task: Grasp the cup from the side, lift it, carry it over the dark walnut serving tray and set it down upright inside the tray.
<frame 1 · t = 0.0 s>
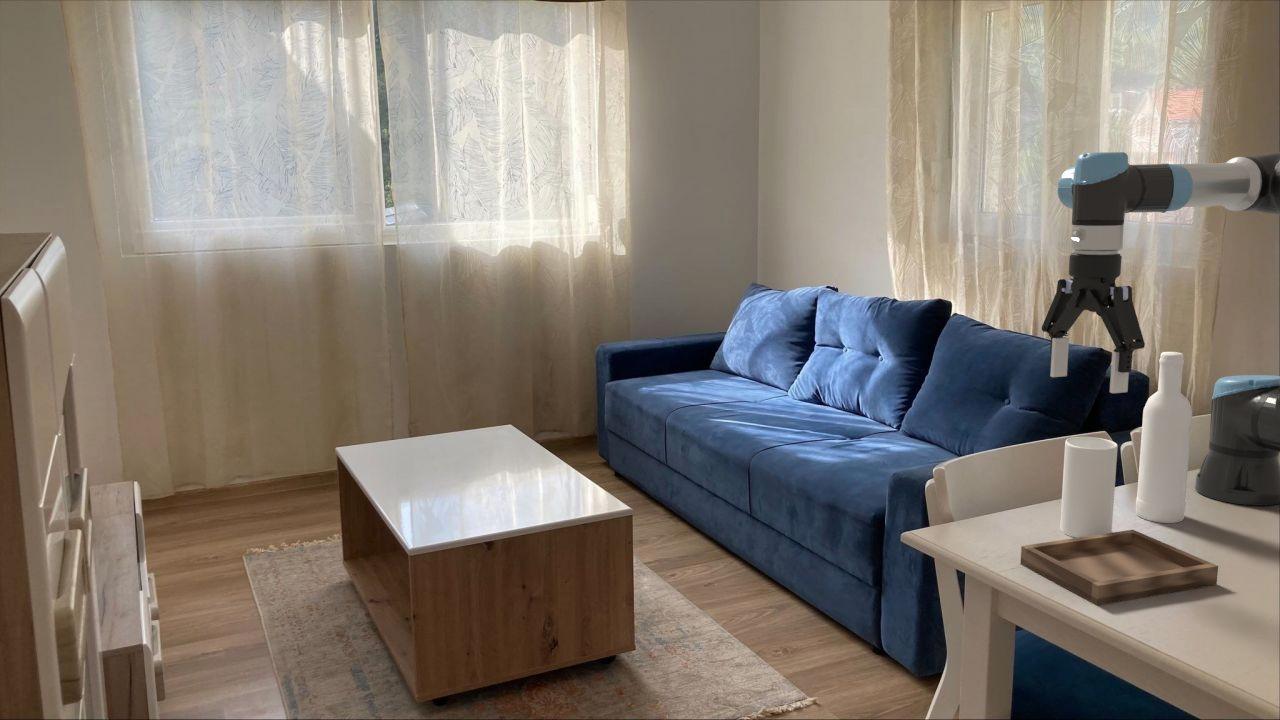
hand: (1087, 384, 164), 28 cm above the table, fingers open, 13 cm apart
cup: (1085, 532, 177), on the table
bottle: (1159, 517, 184), on the table
tray: (1115, 573, 159), on the table
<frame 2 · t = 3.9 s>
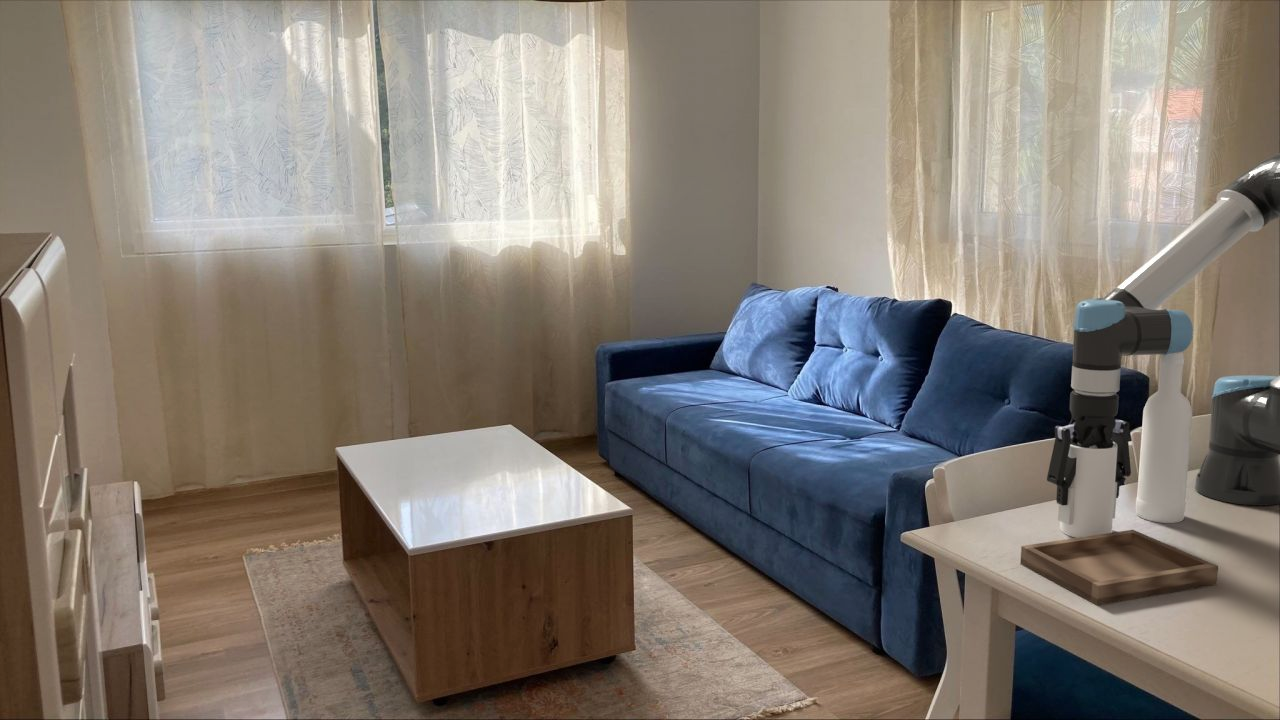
hand: (1086, 519, 177), 2 cm above the table, fingers closed on cup, 8 cm apart
cup: (1085, 532, 177), on the table, touching gripper
everything else where it was.
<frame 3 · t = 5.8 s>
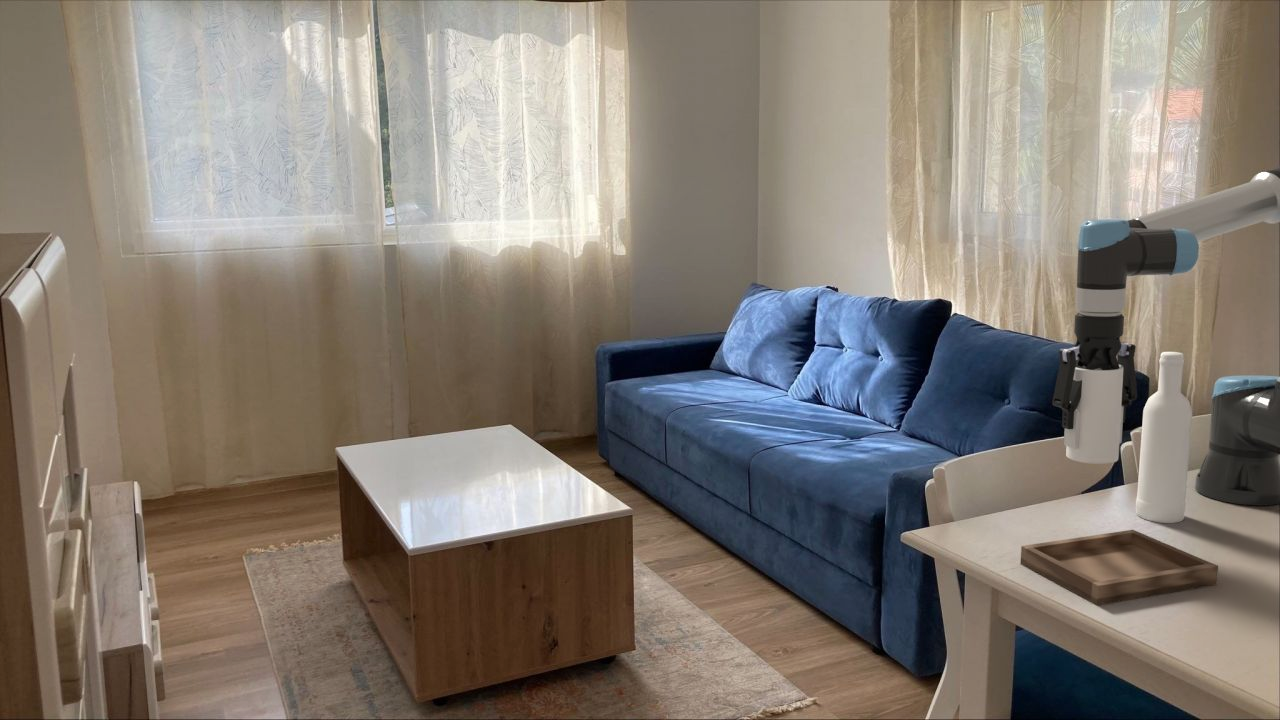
hand: (1092, 444, 174), 16 cm above the table, fingers closed on cup, 8 cm apart
cup: (1091, 458, 175), point 13 cm above the table, touching gripper
everything else where it was.
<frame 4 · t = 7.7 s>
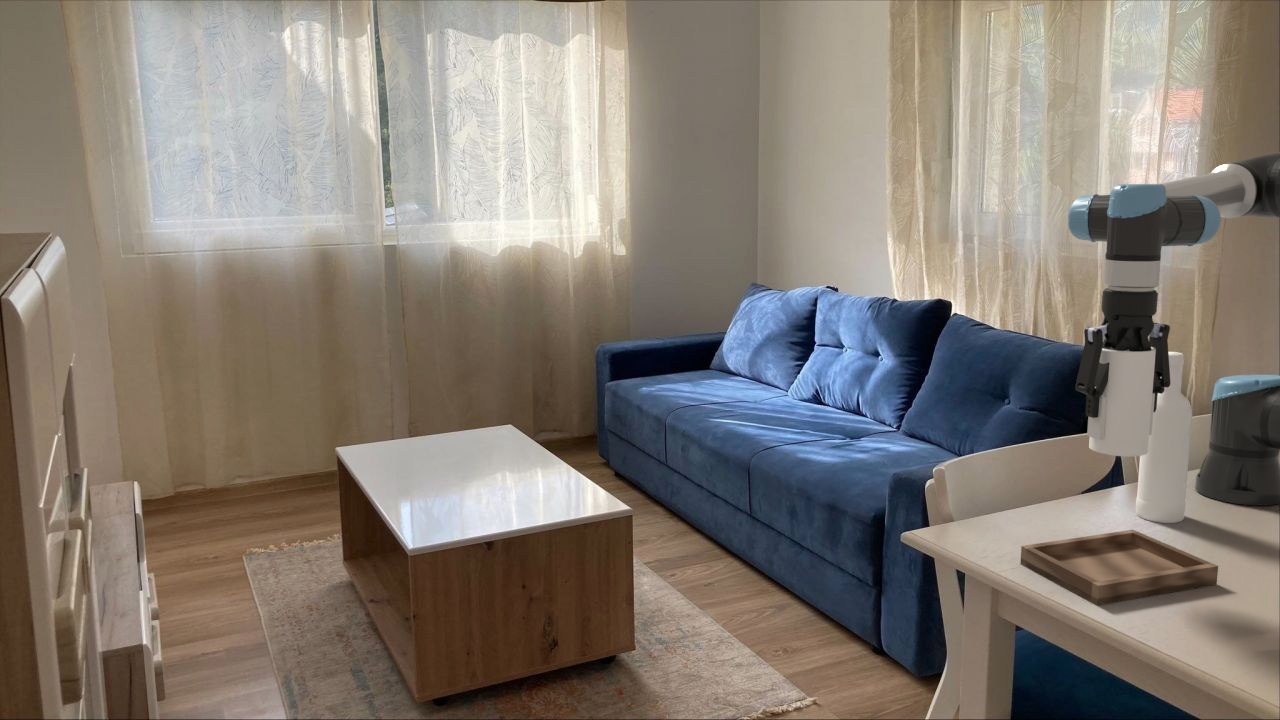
hand: (1119, 435, 157), 22 cm above the table, fingers closed on cup, 8 cm apart
cup: (1117, 450, 157), point 19 cm above the table, touching gripper
everything else where it was.
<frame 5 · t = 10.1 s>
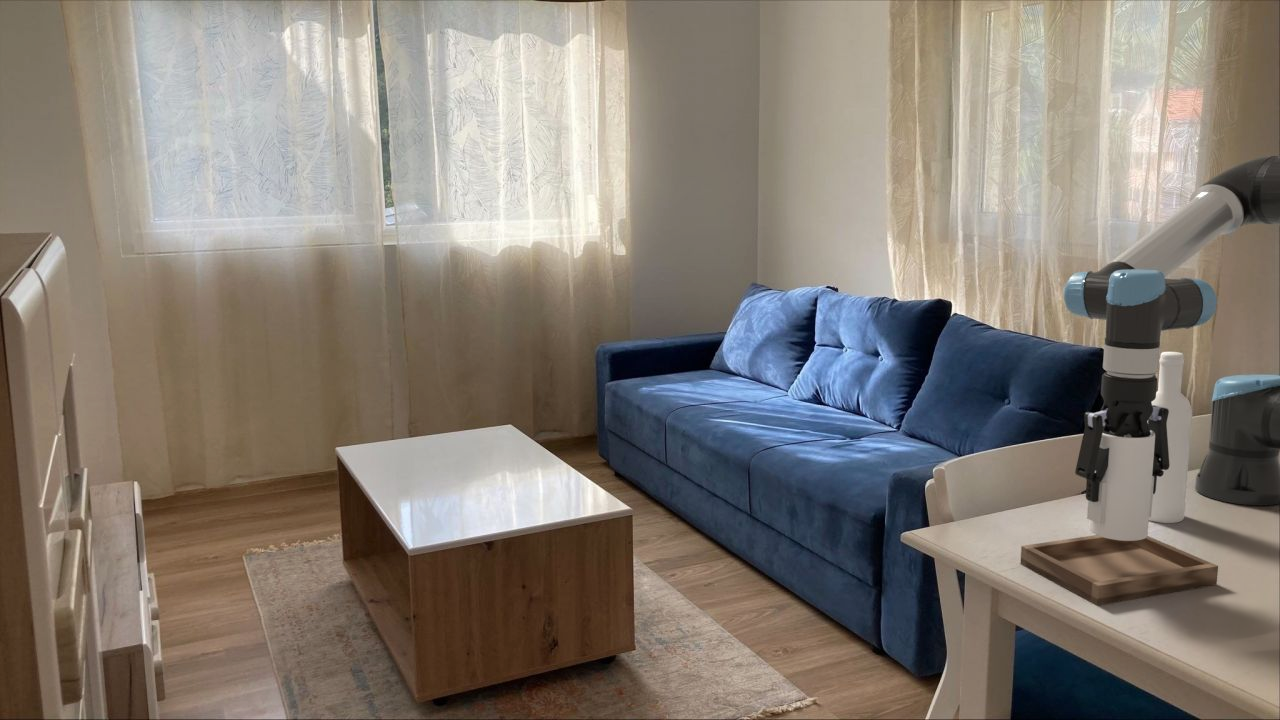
hand: (1119, 517, 157), 9 cm above the table, fingers closed on cup, 8 cm apart
cup: (1117, 532, 157), point 7 cm above the table, touching gripper
everything else where it was.
when the fingers open (5 cm above the table, at t = 11.9 s): cup drops 1 cm, resting on tray.
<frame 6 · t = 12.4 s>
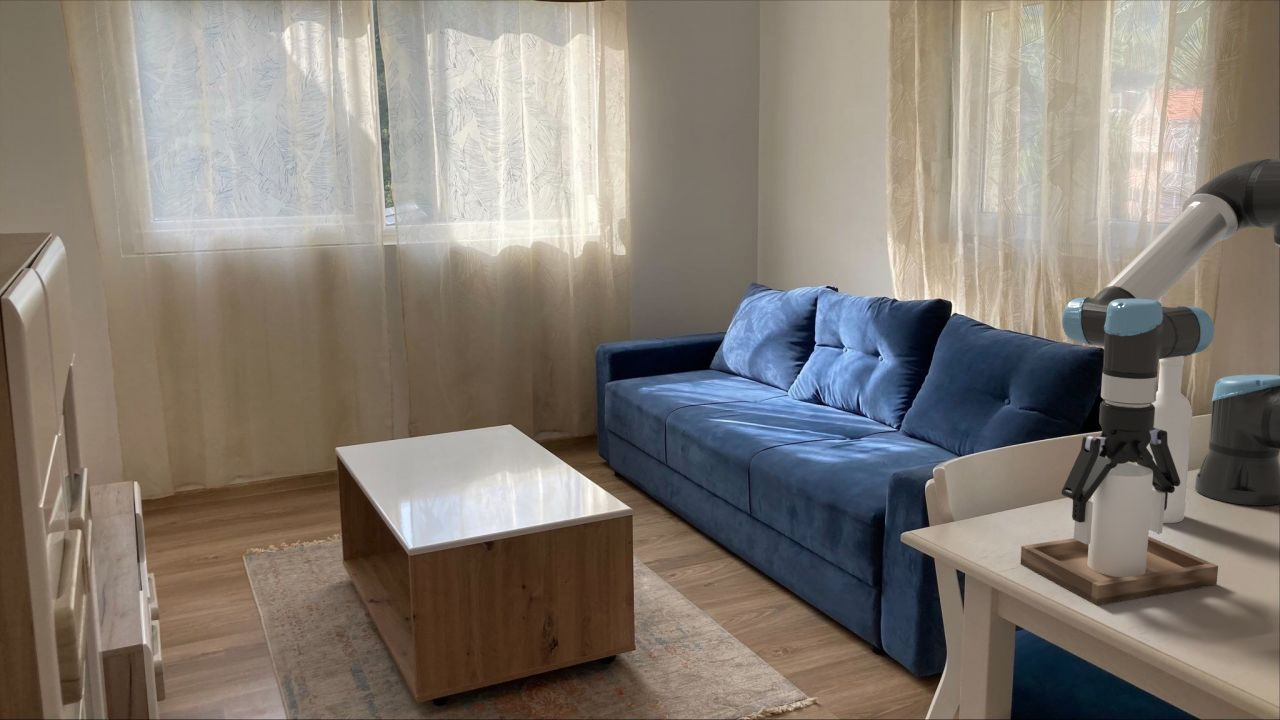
hand: (1118, 536, 158), 6 cm above the table, fingers open, 13 cm apart
cup: (1116, 568, 159), point 1 cm above the table, touching tray
everything else where it was.
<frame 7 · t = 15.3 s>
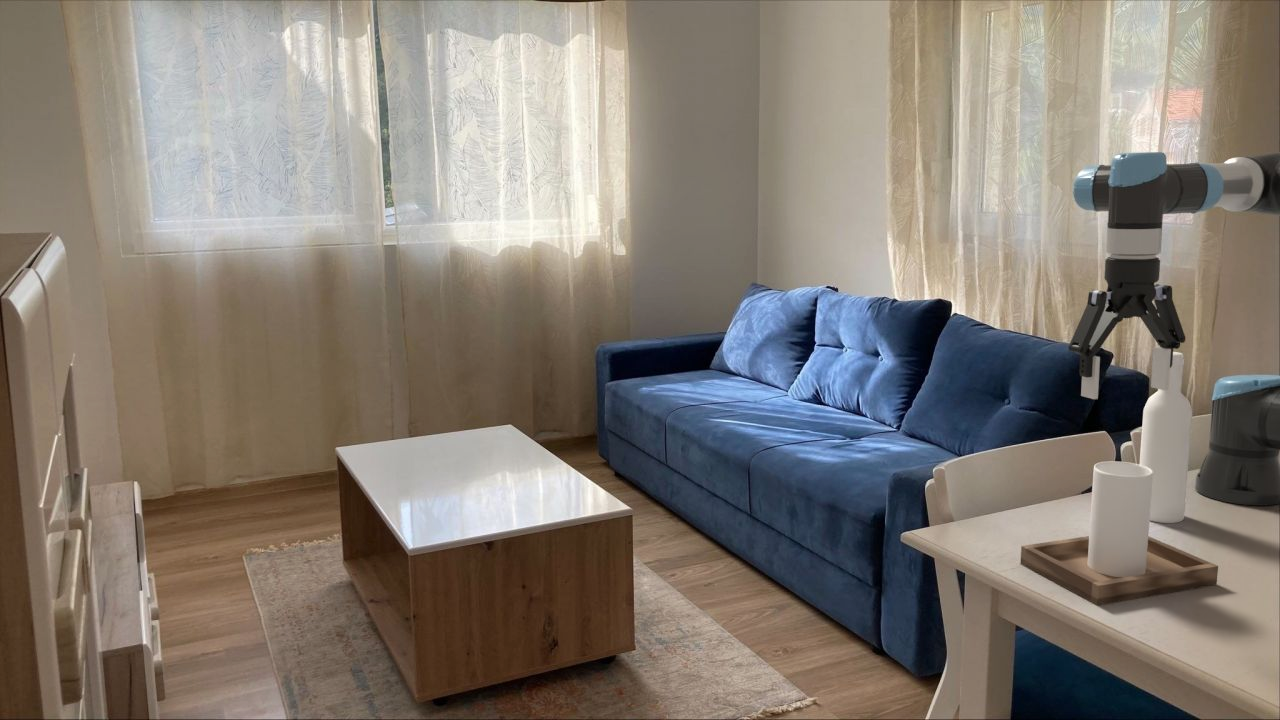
hand: (1124, 393, 158), 28 cm above the table, fingers open, 13 cm apart
nothing on the table moved.
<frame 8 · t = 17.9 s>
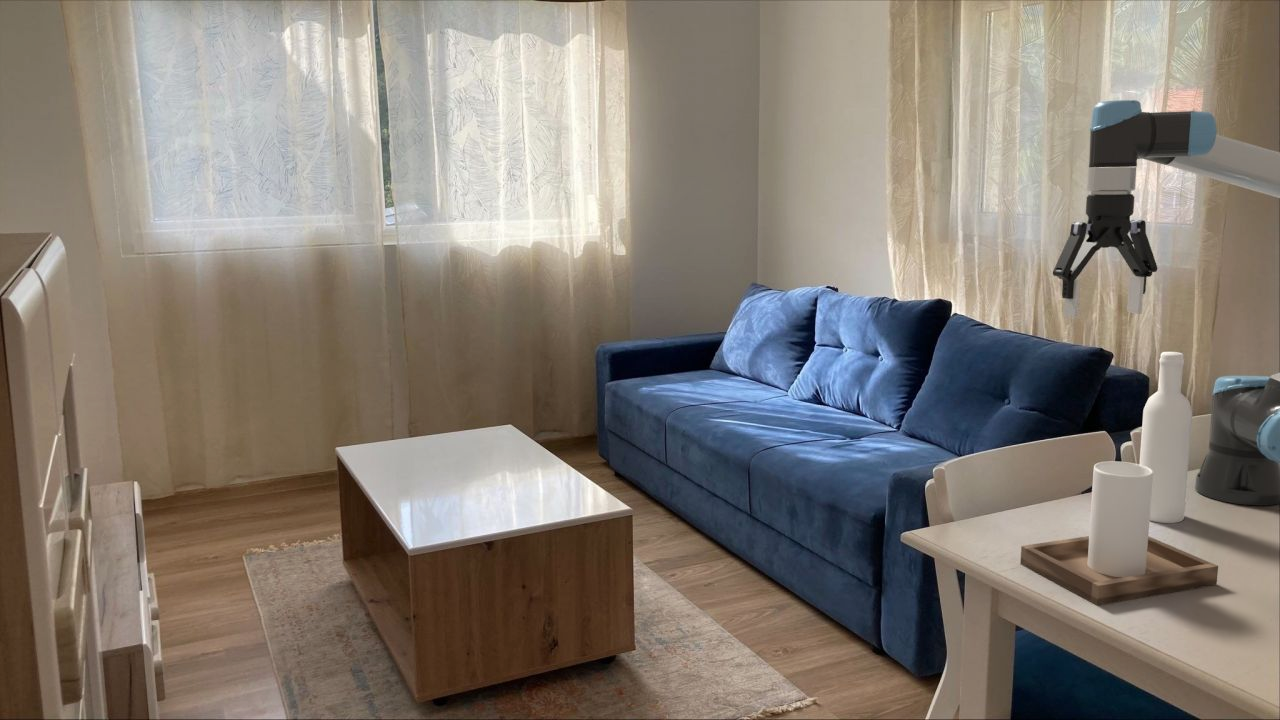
hand: (1102, 315, 179), 37 cm above the table, fingers open, 13 cm apart
nothing on the table moved.
at the end: cup inside the target area on the tray (0.1 cm from its centre), point 0.8 cm above the tray's base; cup tilted 0°; the gripper is holding nothing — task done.
